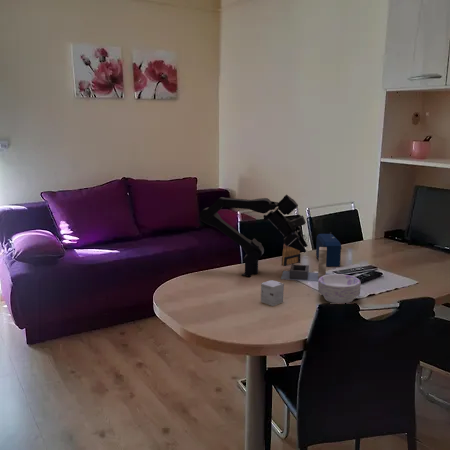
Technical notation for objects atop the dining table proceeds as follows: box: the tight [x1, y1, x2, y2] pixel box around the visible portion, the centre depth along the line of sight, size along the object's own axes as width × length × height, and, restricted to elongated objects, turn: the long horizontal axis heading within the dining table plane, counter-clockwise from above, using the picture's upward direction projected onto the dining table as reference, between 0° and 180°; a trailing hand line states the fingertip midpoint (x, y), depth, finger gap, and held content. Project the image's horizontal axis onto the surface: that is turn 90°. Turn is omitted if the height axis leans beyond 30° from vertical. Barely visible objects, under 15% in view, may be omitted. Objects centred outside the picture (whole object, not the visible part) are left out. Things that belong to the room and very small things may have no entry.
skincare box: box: [260, 279, 285, 307], centre depth 169 cm, size 6×6×7 cm
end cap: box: [289, 264, 310, 280], centre depth 197 cm, size 7×9×4 cm
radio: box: [315, 233, 342, 268], centre depth 219 cm, size 21×9×20 cm, turn 179°
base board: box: [280, 270, 330, 283], centre depth 197 cm, size 24×12×1 cm, turn 77°
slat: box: [317, 247, 327, 279], centre depth 194 cm, size 3×5×12 cm, turn 167°
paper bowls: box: [317, 273, 362, 304], centre depth 172 cm, size 15×15×8 cm
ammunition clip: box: [281, 243, 301, 267], centre depth 215 cm, size 11×2×12 cm, turn 127°
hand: (306, 249), depth 195 cm, fingers open, 9 cm apart
